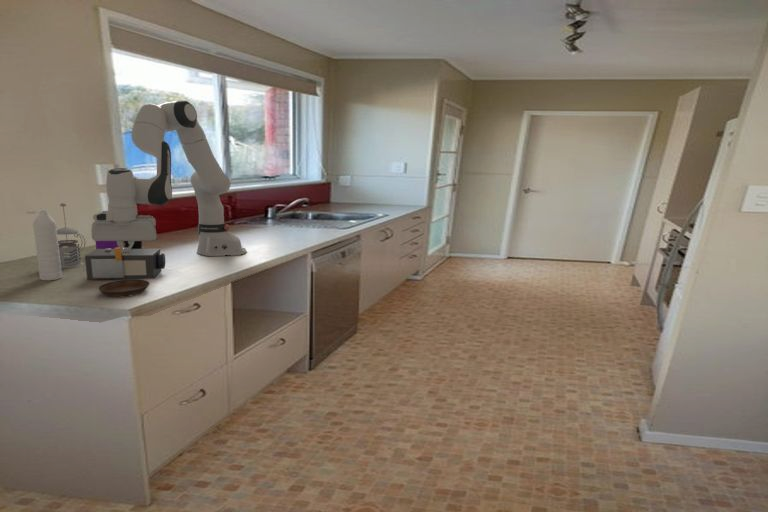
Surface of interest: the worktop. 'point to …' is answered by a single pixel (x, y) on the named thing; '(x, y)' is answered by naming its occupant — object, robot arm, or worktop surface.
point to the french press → (69, 247)
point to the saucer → (123, 287)
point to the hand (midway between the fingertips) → (126, 252)
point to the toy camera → (107, 244)
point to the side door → (108, 266)
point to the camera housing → (131, 262)
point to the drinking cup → (134, 245)
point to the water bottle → (46, 246)
